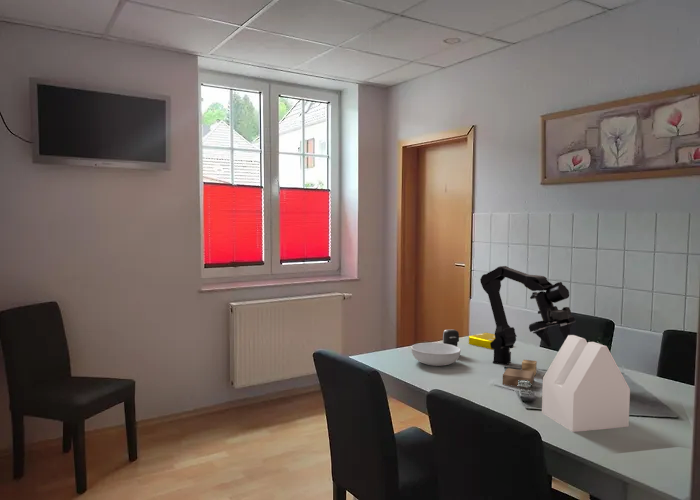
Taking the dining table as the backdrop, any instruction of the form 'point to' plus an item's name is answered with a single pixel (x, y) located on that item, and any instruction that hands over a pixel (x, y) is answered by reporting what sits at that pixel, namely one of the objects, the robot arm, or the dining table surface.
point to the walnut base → (517, 376)
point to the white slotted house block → (585, 388)
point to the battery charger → (451, 337)
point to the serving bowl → (435, 353)
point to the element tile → (482, 340)
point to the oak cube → (529, 366)
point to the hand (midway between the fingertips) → (559, 345)
